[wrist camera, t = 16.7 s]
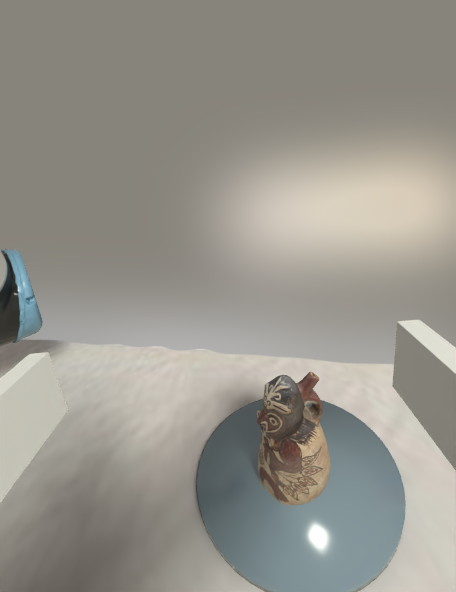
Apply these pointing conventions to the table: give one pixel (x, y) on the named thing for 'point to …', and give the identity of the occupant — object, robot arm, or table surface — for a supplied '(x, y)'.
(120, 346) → the table surface
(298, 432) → the figurine
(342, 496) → the plate
